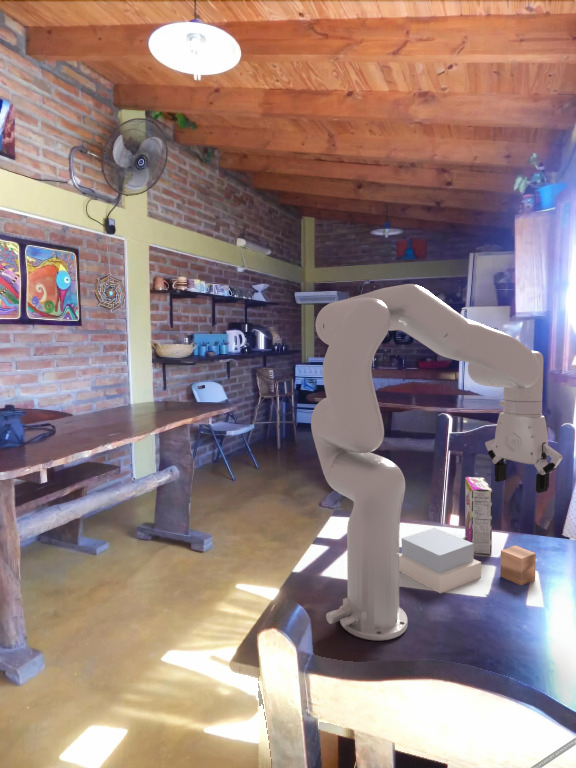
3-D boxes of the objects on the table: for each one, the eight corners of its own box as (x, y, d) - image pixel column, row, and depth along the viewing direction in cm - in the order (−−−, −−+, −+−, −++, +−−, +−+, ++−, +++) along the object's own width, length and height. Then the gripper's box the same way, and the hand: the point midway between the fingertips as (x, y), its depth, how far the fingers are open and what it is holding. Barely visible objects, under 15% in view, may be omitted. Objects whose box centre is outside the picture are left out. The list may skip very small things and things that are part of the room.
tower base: (439, 595, 102) (440, 577, 101) (396, 571, 113) (396, 554, 112) (480, 579, 108) (481, 562, 108) (435, 557, 119) (435, 542, 119)
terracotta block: (521, 585, 104) (521, 558, 104) (500, 576, 109) (500, 550, 108) (535, 579, 107) (535, 553, 106) (514, 570, 111) (514, 545, 111)
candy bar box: (463, 536, 131) (464, 476, 130) (483, 537, 130) (484, 477, 129) (470, 554, 120) (471, 488, 119) (492, 555, 119) (493, 489, 118)
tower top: (439, 573, 103) (439, 555, 103) (401, 555, 112) (401, 538, 112) (473, 560, 109) (473, 543, 108) (434, 543, 118) (434, 527, 118)
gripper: (476, 405, 110) (475, 479, 112) (551, 414, 96) (549, 499, 97) (497, 403, 114) (496, 474, 116) (572, 411, 100) (570, 493, 101)
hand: (520, 486), depth 106 cm, fingers open, 9 cm apart
